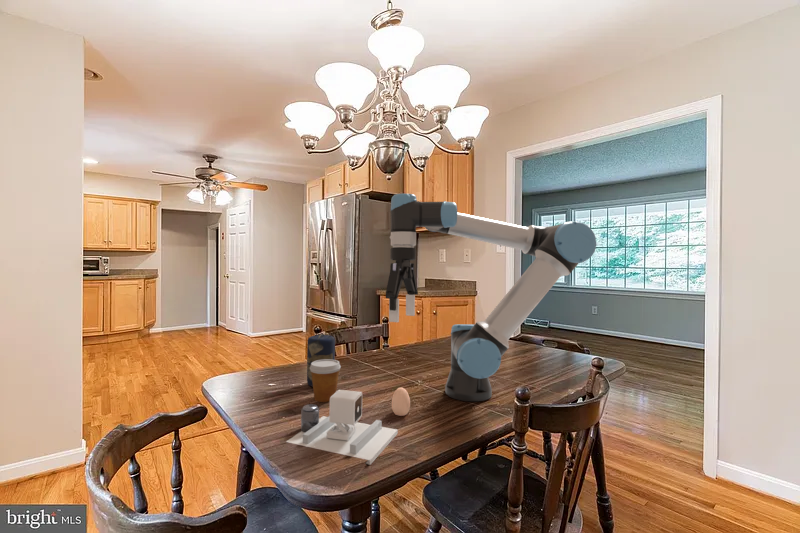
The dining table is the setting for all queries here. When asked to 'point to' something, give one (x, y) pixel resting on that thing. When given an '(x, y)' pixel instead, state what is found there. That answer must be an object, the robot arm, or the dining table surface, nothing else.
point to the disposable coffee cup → (324, 378)
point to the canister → (319, 351)
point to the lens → (309, 417)
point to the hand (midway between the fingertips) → (402, 318)
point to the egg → (400, 402)
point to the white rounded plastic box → (344, 413)
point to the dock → (360, 445)
